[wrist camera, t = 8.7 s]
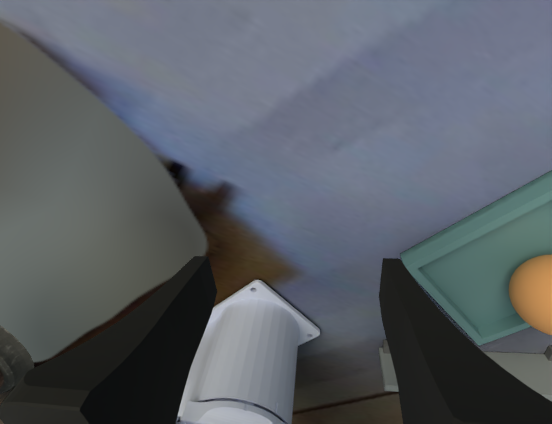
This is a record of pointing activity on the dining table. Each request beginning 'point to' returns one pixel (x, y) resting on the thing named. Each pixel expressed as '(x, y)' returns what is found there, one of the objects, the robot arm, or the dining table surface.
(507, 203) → the tray
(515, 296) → the ball
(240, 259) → the dining table surface
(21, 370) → the tankard
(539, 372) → the wall
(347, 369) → the dining table surface
